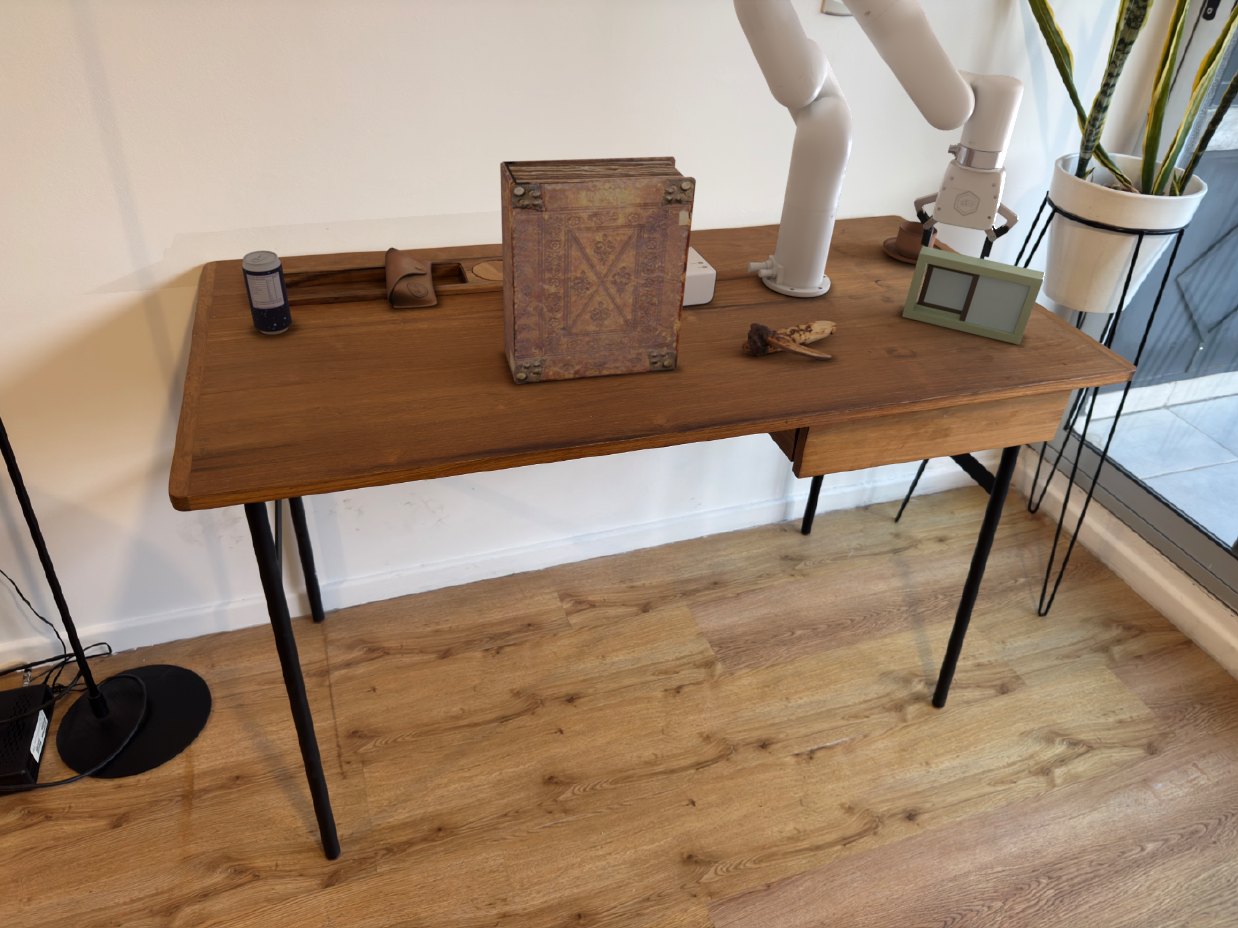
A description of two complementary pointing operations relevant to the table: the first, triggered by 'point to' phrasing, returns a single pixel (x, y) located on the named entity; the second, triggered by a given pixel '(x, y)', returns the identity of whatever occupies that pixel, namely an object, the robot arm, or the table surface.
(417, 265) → the sunglasses case
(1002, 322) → the window frame
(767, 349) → the bone fish hook
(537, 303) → the book
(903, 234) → the cup and saucer
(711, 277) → the laminator
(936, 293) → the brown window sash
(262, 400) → the table surface
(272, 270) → the beverage can
